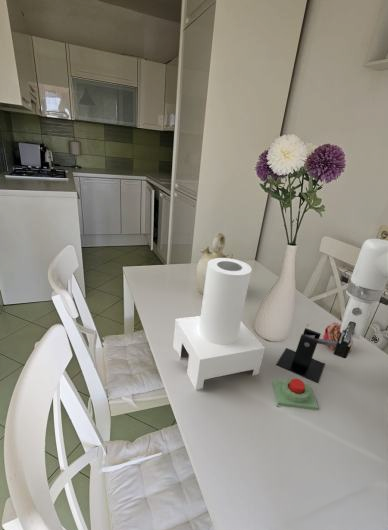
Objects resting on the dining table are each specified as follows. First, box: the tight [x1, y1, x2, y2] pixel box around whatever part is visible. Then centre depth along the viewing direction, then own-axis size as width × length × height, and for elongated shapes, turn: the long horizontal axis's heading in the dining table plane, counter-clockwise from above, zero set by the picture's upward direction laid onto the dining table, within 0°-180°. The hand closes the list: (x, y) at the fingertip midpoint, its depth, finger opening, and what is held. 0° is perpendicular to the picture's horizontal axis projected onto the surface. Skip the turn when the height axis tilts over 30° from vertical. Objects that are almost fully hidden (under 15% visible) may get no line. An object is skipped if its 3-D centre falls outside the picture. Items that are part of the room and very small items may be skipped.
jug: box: [196, 232, 234, 295], centre depth 124 cm, size 15×16×25 cm
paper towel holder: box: [172, 258, 266, 391], centre depth 82 cm, size 19×19×30 cm
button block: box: [271, 378, 319, 411], centre depth 78 cm, size 10×8×4 cm
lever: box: [305, 334, 354, 354], centre depth 84 cm, size 12×5×2 cm, turn 58°
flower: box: [322, 322, 341, 351], centre depth 100 cm, size 10×9×8 cm
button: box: [289, 378, 306, 394], centre depth 77 cm, size 4×4×2 cm
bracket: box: [276, 327, 326, 384], centre depth 88 cm, size 12×10×12 cm
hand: (341, 349), depth 82 cm, fingers closed on lever, 5 cm apart
